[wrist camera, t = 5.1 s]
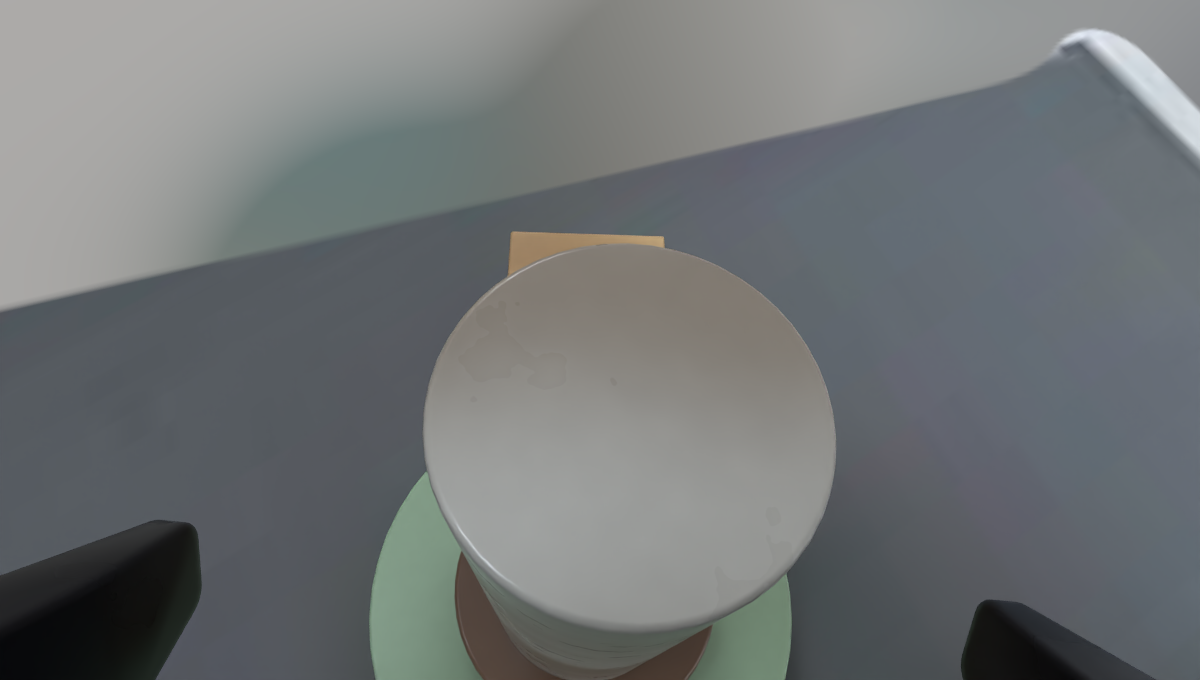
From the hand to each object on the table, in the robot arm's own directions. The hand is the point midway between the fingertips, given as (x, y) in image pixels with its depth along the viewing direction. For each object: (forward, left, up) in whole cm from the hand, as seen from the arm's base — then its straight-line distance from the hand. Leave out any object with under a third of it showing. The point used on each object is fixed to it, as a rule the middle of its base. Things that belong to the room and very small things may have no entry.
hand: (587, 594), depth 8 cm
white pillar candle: (+4, 0, -7) cm, 8 cm away
